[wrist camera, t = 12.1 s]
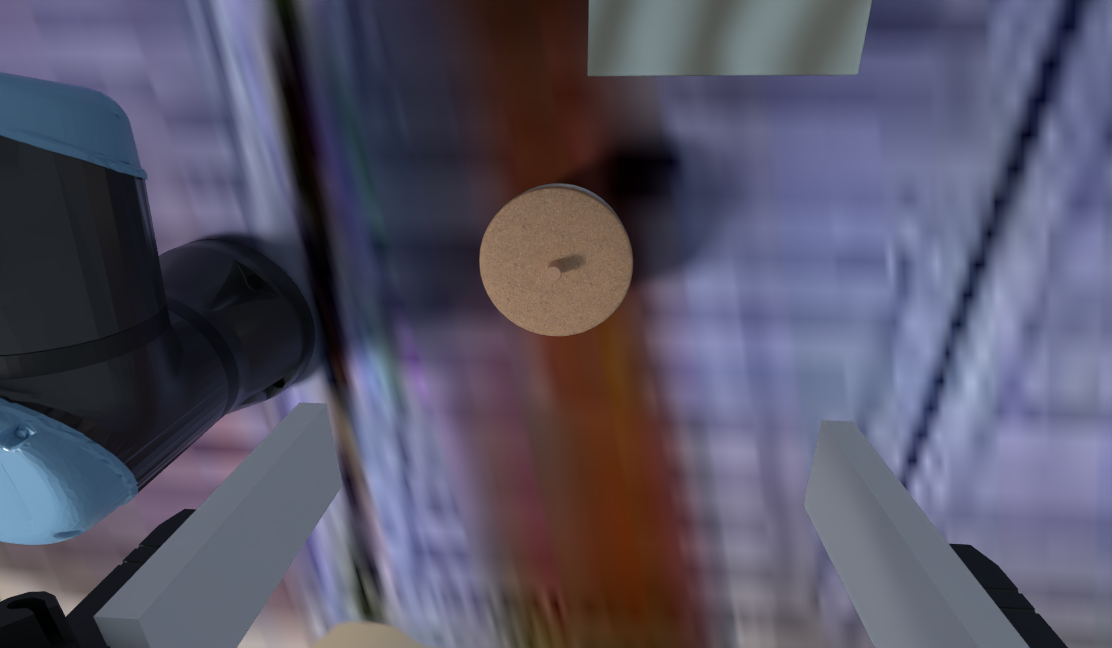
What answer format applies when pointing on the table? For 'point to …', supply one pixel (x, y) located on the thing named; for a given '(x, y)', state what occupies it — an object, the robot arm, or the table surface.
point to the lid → (726, 37)
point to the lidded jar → (556, 260)
